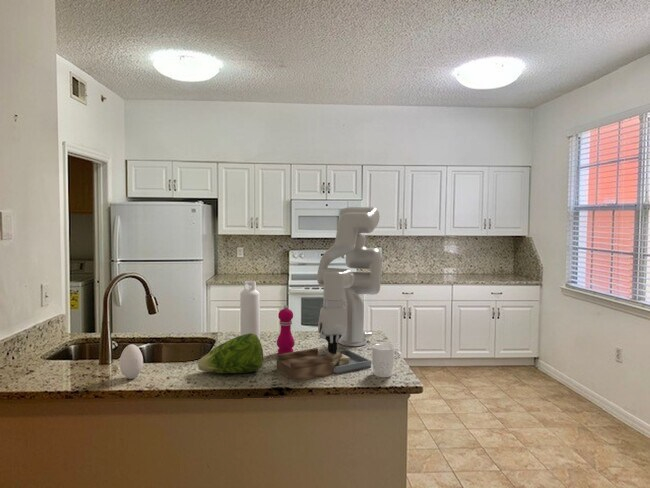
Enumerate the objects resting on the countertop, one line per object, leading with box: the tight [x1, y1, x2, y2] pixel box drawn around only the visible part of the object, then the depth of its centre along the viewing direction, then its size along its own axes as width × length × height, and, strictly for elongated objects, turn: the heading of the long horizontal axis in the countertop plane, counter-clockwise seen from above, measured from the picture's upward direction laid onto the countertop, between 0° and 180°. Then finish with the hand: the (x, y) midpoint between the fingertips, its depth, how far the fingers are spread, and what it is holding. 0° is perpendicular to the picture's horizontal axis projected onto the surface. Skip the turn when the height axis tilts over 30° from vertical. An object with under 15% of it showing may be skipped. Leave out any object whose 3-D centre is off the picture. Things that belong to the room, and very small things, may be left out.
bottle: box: [239, 280, 261, 341], centre depth 192 cm, size 8×8×28 cm
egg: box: [119, 343, 144, 380], centre depth 154 cm, size 7×7×12 cm
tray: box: [318, 349, 372, 375], centre depth 172 cm, size 15×16×2 cm
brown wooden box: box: [276, 347, 335, 383], centre depth 163 cm, size 16×14×6 cm
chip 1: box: [326, 350, 342, 365], centre depth 169 cm, size 4×4×2 cm
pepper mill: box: [276, 305, 295, 355], centre depth 183 cm, size 7×7×20 cm
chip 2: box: [336, 354, 349, 366], centre depth 171 cm, size 4×4×2 cm
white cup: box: [371, 343, 396, 378], centre depth 161 cm, size 8×8×10 cm
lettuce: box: [197, 333, 265, 374], centre depth 162 cm, size 14×23×13 cm, turn 98°
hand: (332, 352), depth 169 cm, fingers closed
